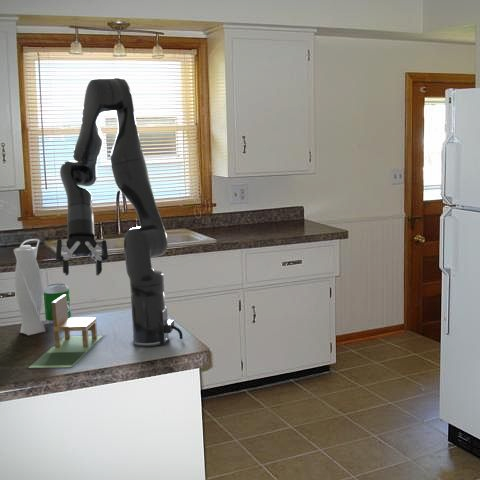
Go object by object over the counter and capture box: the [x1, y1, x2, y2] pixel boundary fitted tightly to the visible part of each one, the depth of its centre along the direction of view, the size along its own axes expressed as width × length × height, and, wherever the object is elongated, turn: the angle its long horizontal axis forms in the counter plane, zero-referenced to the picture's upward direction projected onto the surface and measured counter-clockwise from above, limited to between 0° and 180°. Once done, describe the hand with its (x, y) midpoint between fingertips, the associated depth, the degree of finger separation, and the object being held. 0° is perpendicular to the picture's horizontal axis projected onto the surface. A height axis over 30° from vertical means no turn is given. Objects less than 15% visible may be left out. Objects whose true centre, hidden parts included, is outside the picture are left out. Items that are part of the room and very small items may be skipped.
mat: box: [28, 334, 104, 369], centre depth 200 cm, size 11×28×1 cm, turn 0°
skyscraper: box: [13, 238, 46, 336], centre depth 216 cm, size 8×8×28 cm
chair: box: [52, 295, 98, 348], centre depth 205 cm, size 9×9×13 cm
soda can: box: [43, 282, 72, 326], centre depth 227 cm, size 8×8×12 cm
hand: (82, 274), depth 209 cm, fingers open, 8 cm apart
